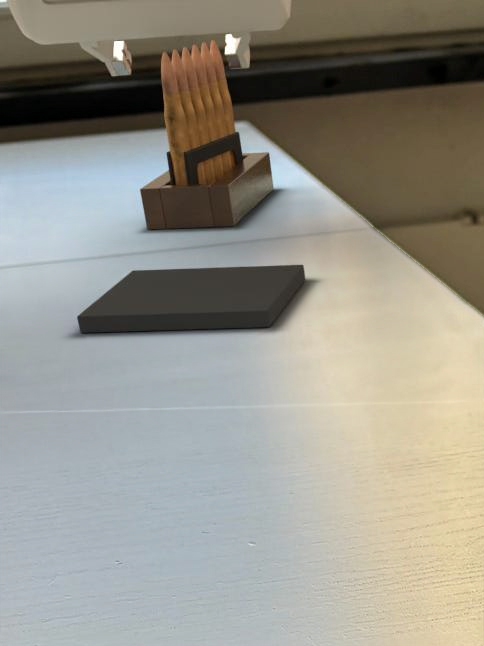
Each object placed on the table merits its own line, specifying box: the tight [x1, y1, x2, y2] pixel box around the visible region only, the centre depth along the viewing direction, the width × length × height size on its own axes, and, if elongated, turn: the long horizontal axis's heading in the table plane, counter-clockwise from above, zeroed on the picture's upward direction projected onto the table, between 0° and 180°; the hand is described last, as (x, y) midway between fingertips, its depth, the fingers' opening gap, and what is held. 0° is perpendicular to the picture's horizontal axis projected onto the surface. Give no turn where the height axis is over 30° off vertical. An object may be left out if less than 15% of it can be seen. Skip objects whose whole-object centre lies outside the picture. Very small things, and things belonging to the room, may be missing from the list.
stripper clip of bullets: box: [160, 39, 243, 185], centre depth 112 cm, size 11×2×12 cm, turn 164°
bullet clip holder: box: [139, 151, 275, 230], centre depth 114 cm, size 7×16×3 cm, turn 175°
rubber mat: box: [76, 264, 306, 334], centre depth 88 cm, size 12×12×1 cm
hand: (181, 64), depth 105 cm, fingers open, 8 cm apart
